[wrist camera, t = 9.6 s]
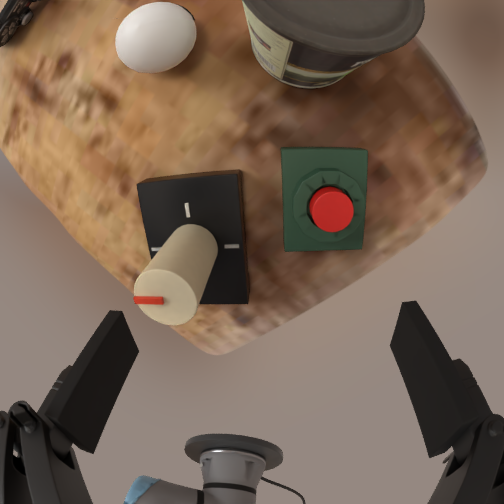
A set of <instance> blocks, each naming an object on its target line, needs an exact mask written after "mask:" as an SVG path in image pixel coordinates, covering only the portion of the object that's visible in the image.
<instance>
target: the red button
mask: <svg viewBox="0 0 504 504" xmlns="http://www.w3.org/2000/svg"><path fill="white" fill-rule="evenodd" d="M310 213H311V216H312V218H313V220H314V222H315V224H316V225H317V226H318V227H319V228H320V229H322V230H324V231H326V232H337V231H340V230H342V229H344V228H345V227H347V226H348V224H349V223H350V222H351V220H352V217H353V213H354V209H353V204H352V202H351V200H350V199H349V197H348V196H347V195H346V194H345V193H344V192H342V191H341V190H340V189H338V188H335V187H325V188H322V189H320V190H318V191H317V192H316V193H315V194H314V195H313V197H312V199H311V201H310Z"/></svg>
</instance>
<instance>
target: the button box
mask: <svg viewBox="0 0 504 504" xmlns="http://www.w3.org/2000/svg"><path fill="white" fill-rule="evenodd" d="M367 165H368V151H367V150H365V149H362V148H346V147H281V168H282V195H283V230H284V249H285V252H292V251H323V250H353V249H362V244H363V234H364V222H365V209H366V192H367ZM325 187H335V188H338V189H340V190H341V191H342V192H344V193H345V194H346V195H347V196H348V197H349V199H350V200H351V202H352V204H353V209H354V213H353V217H352V220H351V222H350V223H349V224H348V226H347V227H345V228H344V229H342V230H340V231H337V232H326V231H324V230H322V229H320V228H319V227H318V226H317V225H316V224H315V222H314V220H313V218H312V216H311V213H310V201H311V199H312V197H313V195H314V194H315V193H316V192H317V191H318V190H320V189H322V188H325Z"/></svg>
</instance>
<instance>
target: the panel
mask: <svg viewBox="0 0 504 504" xmlns="http://www.w3.org/2000/svg"><path fill="white" fill-rule="evenodd" d="M137 190H138V196H139V202H140V207H141V212H142V218H143V223H144V228H145V233H146V237H147V242H148V247H149V251H150V255H151V260H152V259H153V257H154V256H155V255H156V254H157V252H158V251H159V250H160V249H161V247H162V246H163V245H164V243H165V242H166V241H167V240H168V239H169V237H170V236H171V235H172V234H173V232H174V231H175V230H176V229H177V228H179V227H181V226H183V225H187V224H195V225H199V226H202V227H204V228H205V229H207V230H208V231H209V232H210V233H211V234H212V235H213V236H214V238H215V240H216V242H217V246H218V253H217V257H216V259H215V262H214V265H213V267H212V270H211V273H210V275H209V278H208V281H207V284H206V286H205V289H204V292H203V295H202V297H201V300H200V303H199V304H248V301H249V293H250V289H249V277H248V265H247V252H246V240H245V227H244V214H243V201H242V188H241V175H240V170H226V171H213V172H202V173H191V174H182V175H173V176H164V177H156V178H149V179H145V180H143V181H141V182H139V183H138V184H137Z"/></svg>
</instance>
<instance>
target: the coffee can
mask: <svg viewBox="0 0 504 504" xmlns="http://www.w3.org/2000/svg"><path fill="white" fill-rule="evenodd" d="M242 2H243V6H244V10H245V14H246V19H247V23H248V27H249V32H250V36H251V44H252V49H253V53H254V55H255V57H256V59H257V61H258V62H259V63H260V65H261V66H262V67H263V68H264V69H265V70H266V71H267V72H268V73H269V74H270V75H271V76H273V77H274V78H276V79H278V80H279V81H281V82H283V83H286V84H288V85H291V86H295V87H300V88H321V87H325V86H329V85H331V84H333V83H335V82H337V81H339V80H340V79H342V78H343V77H344V76H345V75H347V74H349V73H350V72H352V71H353V70H355V69H357V68H358V67H360V66H362V65H363V64H365V63H367V62H369V61H371V60H372V59H374V58H376V57H378V56H380V55H381V54H384V53H387V52H391V51H393V50H396V49H398V48H400V47H402V46H404V45H405V44H407V43H408V42H409V41H410V40H411V39H412V38H413V37H414V36H415V35H416V34H417V32H418V31H419V29H420V27H421V25H422V22H423V19H424V13H425V4H424V0H242Z"/></svg>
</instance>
